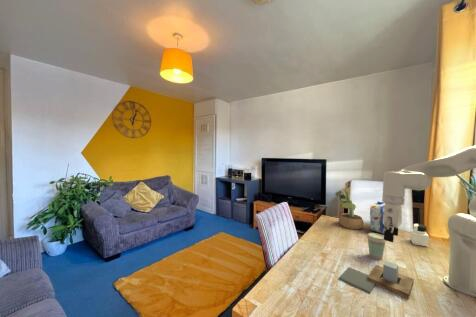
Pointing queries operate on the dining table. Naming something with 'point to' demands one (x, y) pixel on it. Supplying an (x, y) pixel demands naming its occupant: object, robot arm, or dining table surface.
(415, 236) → the salt and pepper set
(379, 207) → the lunch box
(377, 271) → the board
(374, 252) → the coffee cup
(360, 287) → the coaster
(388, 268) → the slate block
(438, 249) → the dining table surface
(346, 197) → the potted plant
